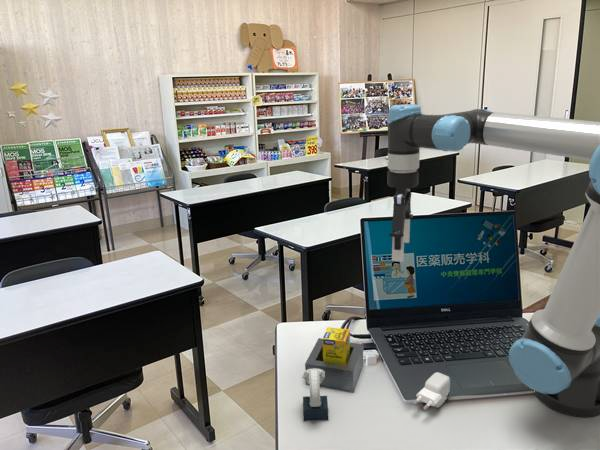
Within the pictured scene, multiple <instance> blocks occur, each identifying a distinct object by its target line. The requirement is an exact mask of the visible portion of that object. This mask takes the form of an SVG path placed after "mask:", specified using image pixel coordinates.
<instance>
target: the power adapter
mask: <svg viewBox="0 0 600 450" xmlns="http://www.w3.org/2000/svg"><path fill="white" fill-rule="evenodd" d="M450 390H451V378H450V376H449V375H446V374H443V373H441V372H439V371H437V372H434V373H433V374H431V376H430V377H428V379H427V380H426V381H425V383H424V387H423V388H421V389H420V391H418V392H417V393H416V399H415V400H414V401H413V402H412V404H413V405H414V406H415V405H417V404H418V403H419V402H422V403H425V405H424V406H423V408H422V409H423V410H424V411H426V410H427V409H428V408H429V407H434V408H436V409H437V408H440V407H441V406H443V404H444V403H445V402H446V401H445V397H446V396H447V395H448V393H449V392H450ZM449 394H450V393H449Z"/></svg>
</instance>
